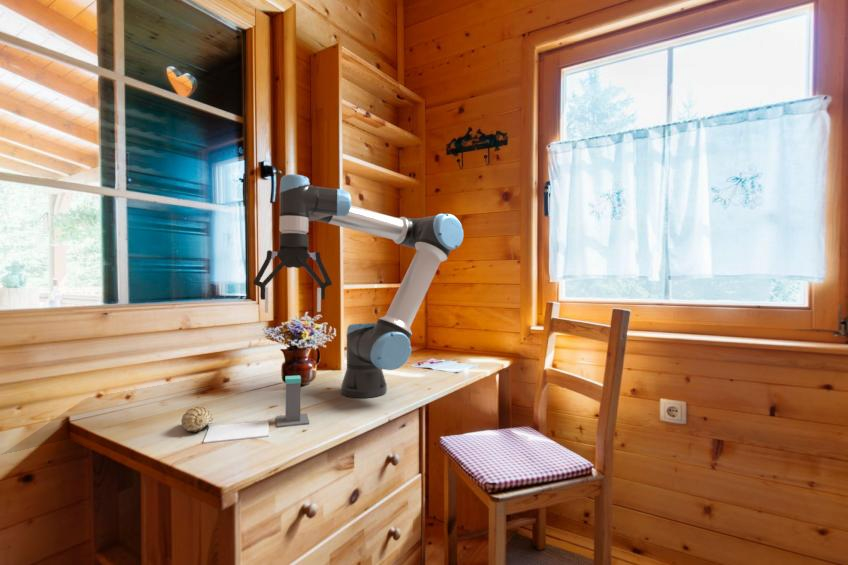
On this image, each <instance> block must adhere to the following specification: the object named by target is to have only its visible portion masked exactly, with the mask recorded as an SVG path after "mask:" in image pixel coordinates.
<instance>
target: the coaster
mask: <svg viewBox="0 0 848 565" xmlns="http://www.w3.org/2000/svg"><path fill="white" fill-rule="evenodd" d="M275 417H276V428H283V427H285V428H286V427H292V426H293V427H294V426H295V427H297V426H304V425H305V426H306V425H310V420H309V416H308V413H300V421H294V422H286V419H285V415H276V416H275Z"/></svg>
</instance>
